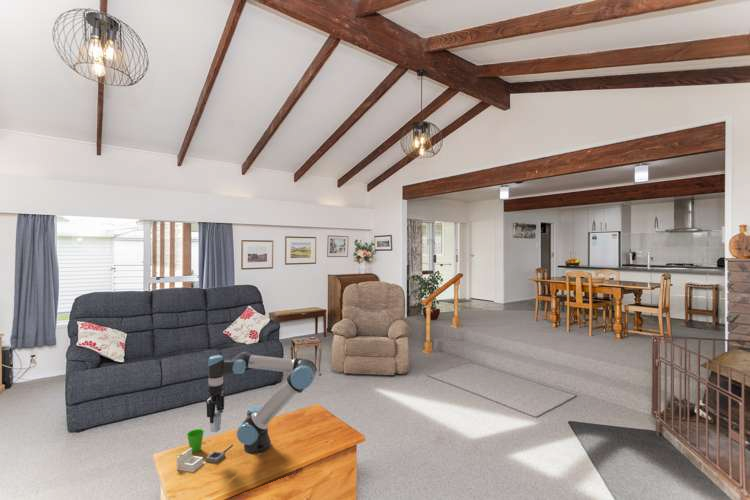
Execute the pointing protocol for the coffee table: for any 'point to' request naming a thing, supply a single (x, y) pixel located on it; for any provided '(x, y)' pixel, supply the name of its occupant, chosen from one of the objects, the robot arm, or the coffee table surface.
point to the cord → (227, 448)
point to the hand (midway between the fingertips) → (215, 426)
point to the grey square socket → (215, 457)
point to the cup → (195, 439)
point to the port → (189, 461)
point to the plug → (217, 421)
